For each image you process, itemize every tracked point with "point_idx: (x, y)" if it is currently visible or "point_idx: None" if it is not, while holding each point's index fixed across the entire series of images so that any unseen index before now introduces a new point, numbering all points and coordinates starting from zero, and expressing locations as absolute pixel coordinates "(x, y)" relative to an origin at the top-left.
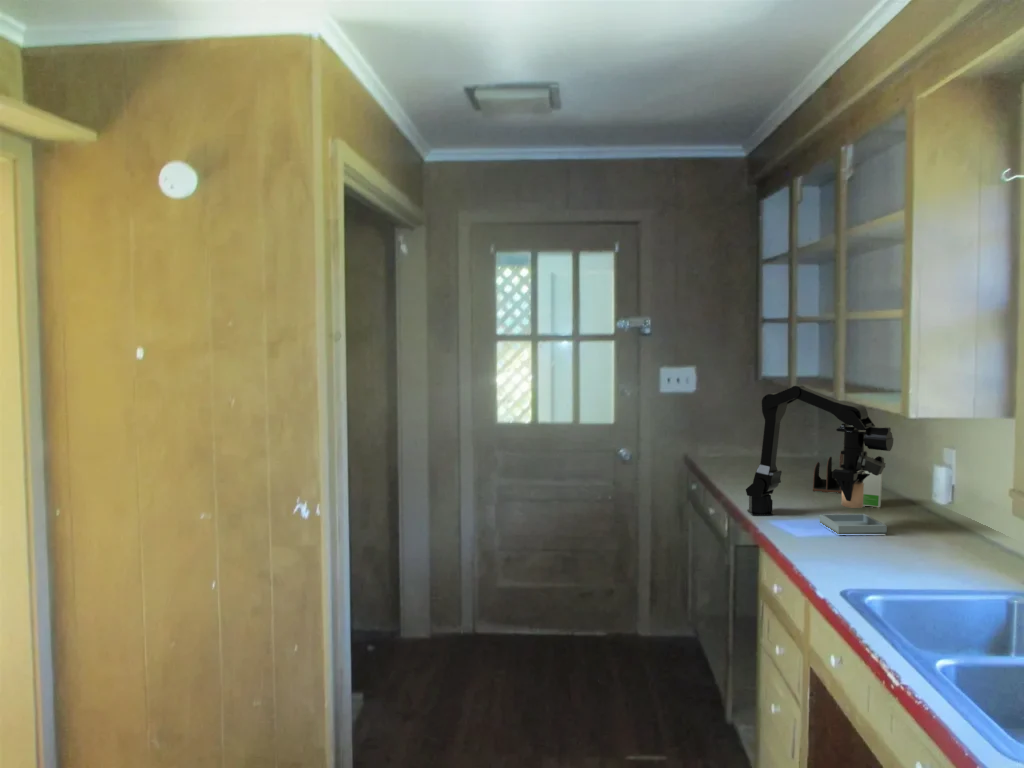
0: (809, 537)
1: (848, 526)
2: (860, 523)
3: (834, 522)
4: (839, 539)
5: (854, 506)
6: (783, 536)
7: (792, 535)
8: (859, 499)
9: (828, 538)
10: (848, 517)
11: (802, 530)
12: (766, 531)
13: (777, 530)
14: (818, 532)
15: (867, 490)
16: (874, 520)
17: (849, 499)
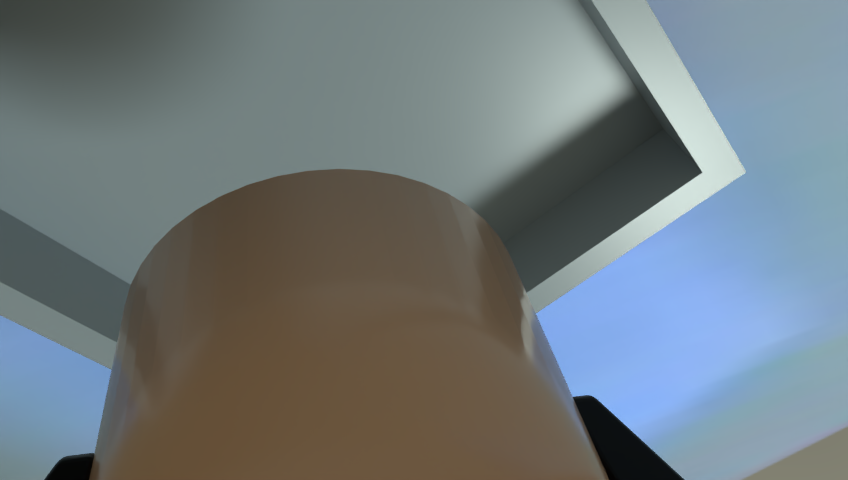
0: (812, 261)
1: (695, 85)
2: (56, 100)
3: (592, 260)
4: (812, 55)
5: (511, 264)
6: (832, 372)
7: (786, 352)
8: (488, 320)
9: (802, 146)
10: (55, 280)
11: (606, 371)
12: (733, 468)
13: (681, 449)
14: (615, 279)
15: None
16: None
17: (611, 426)
